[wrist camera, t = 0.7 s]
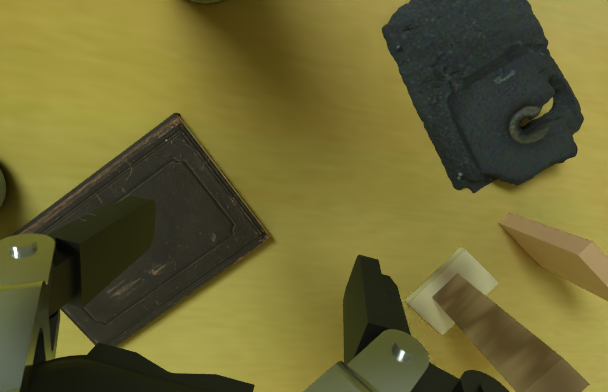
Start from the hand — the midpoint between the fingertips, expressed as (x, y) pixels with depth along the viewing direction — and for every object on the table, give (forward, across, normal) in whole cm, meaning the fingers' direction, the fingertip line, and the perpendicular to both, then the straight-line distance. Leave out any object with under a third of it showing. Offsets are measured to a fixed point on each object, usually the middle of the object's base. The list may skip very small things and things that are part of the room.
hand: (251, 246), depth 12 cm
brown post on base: (+22, -21, +13) cm, 33 cm away
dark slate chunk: (+27, -16, -10) cm, 33 cm away
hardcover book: (+19, +15, +14) cm, 28 cm away
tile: (+24, -27, +5) cm, 37 cm away
